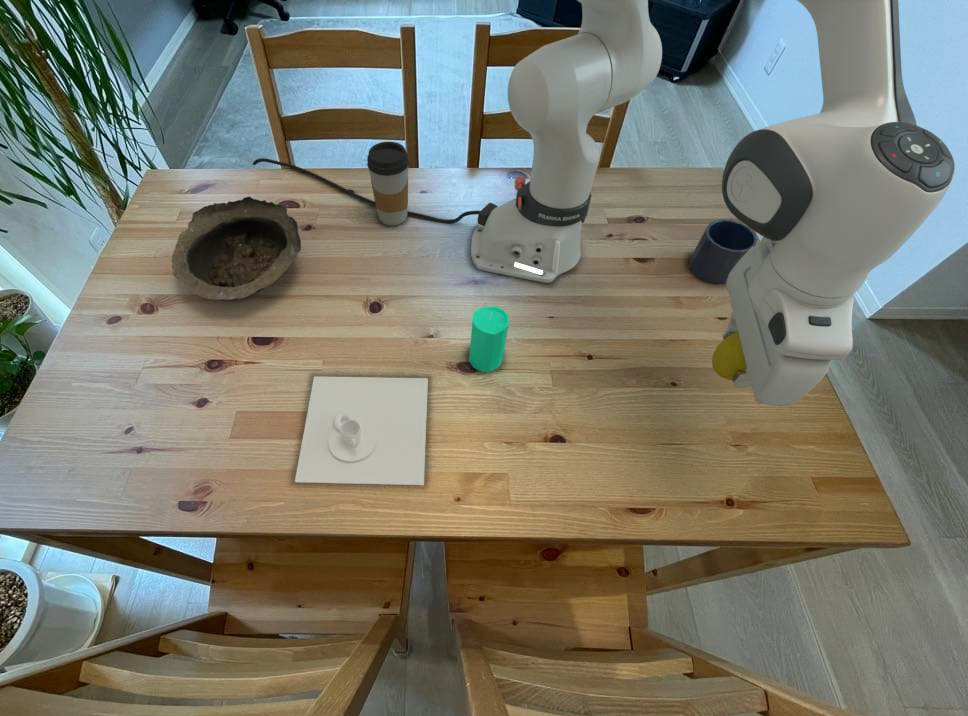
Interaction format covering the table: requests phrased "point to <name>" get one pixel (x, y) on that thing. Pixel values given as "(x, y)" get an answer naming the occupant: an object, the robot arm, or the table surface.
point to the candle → (488, 338)
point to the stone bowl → (235, 248)
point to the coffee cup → (389, 181)
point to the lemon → (729, 357)
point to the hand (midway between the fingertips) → (733, 361)
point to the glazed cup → (721, 250)
